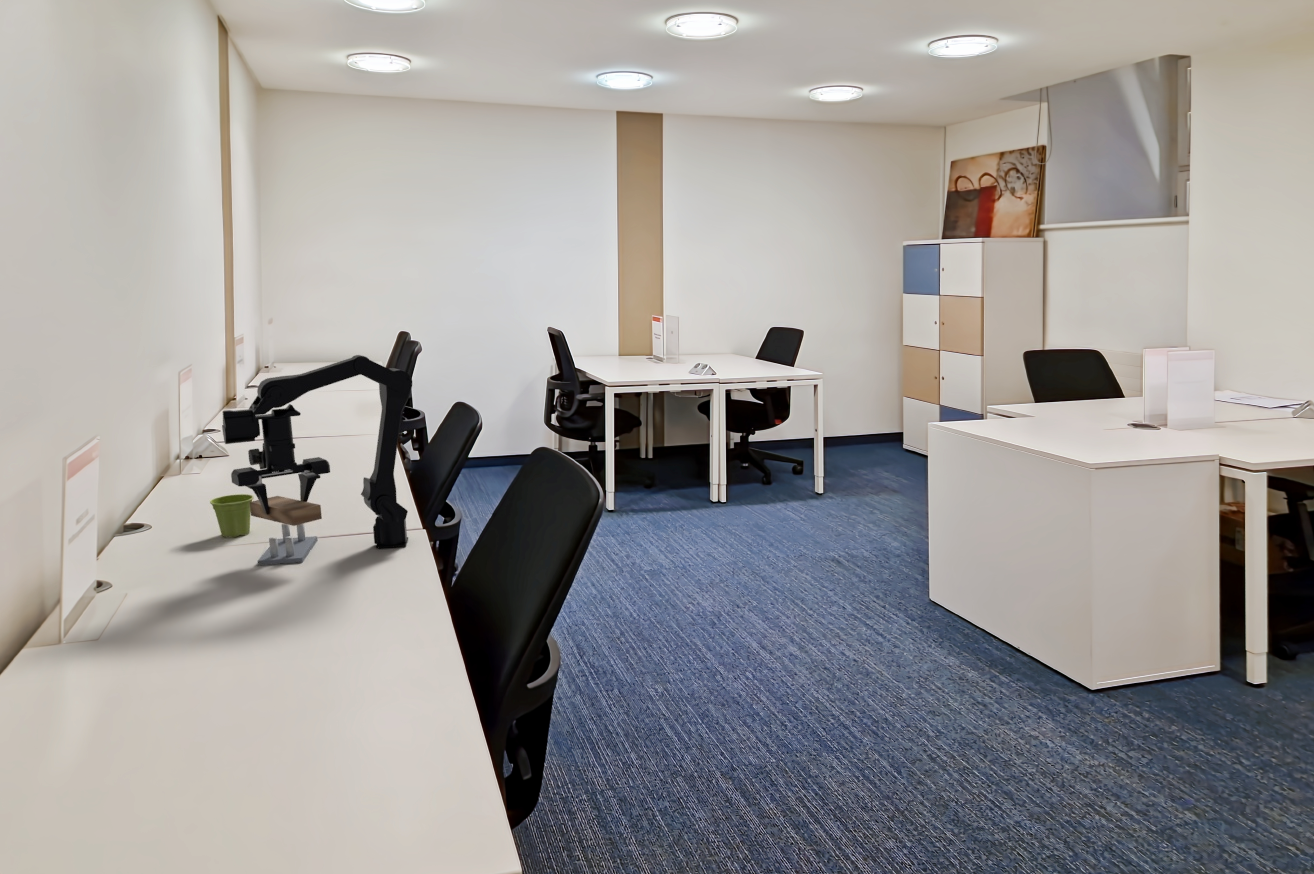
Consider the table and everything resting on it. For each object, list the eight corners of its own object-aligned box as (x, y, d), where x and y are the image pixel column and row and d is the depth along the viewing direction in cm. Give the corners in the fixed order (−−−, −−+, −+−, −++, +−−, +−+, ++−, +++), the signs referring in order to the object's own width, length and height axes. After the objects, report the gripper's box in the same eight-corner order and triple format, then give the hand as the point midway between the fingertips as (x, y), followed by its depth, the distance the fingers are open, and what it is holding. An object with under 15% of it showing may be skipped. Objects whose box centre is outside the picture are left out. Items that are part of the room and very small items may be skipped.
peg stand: (276, 543, 216) (274, 521, 215) (317, 540, 217) (315, 519, 217) (258, 565, 200) (255, 542, 199) (302, 562, 201) (300, 539, 200)
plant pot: (246, 539, 220) (242, 503, 218) (206, 540, 220) (202, 504, 218) (263, 528, 229) (260, 493, 227) (225, 529, 229) (221, 494, 228)
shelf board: (321, 518, 198) (320, 504, 198) (293, 525, 193) (292, 511, 193) (278, 509, 208) (277, 495, 207) (251, 515, 203) (249, 502, 202)
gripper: (309, 428, 210) (316, 497, 212) (220, 440, 198) (228, 512, 201) (327, 434, 201) (334, 505, 204) (235, 446, 190) (243, 522, 192)
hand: (285, 511), depth 200 cm, fingers closed on shelf board, 7 cm apart
